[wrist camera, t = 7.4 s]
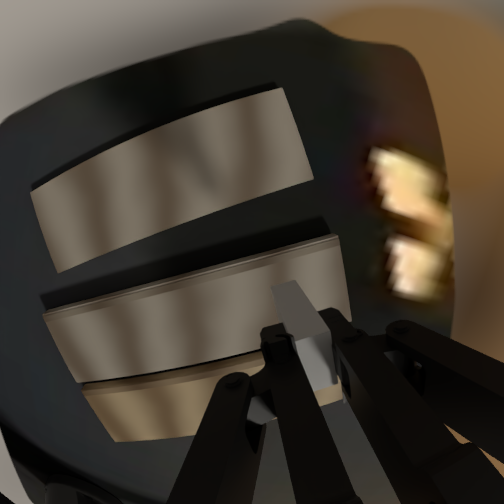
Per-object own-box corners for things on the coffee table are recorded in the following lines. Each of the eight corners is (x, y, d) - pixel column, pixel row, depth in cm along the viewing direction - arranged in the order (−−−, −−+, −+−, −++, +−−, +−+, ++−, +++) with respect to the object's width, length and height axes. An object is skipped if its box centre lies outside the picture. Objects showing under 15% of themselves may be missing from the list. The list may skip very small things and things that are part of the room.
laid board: (117, 435, 29) (115, 442, 27) (85, 384, 27) (80, 390, 26) (355, 386, 29) (359, 393, 28) (348, 324, 27) (353, 330, 26)
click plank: (80, 376, 27) (76, 383, 25) (48, 309, 25) (41, 314, 24) (346, 315, 27) (351, 321, 26) (333, 233, 25) (338, 235, 24)
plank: (63, 269, 25) (57, 273, 24) (37, 192, 23) (30, 192, 22) (310, 179, 25) (313, 178, 24) (279, 91, 23) (282, 87, 22)
